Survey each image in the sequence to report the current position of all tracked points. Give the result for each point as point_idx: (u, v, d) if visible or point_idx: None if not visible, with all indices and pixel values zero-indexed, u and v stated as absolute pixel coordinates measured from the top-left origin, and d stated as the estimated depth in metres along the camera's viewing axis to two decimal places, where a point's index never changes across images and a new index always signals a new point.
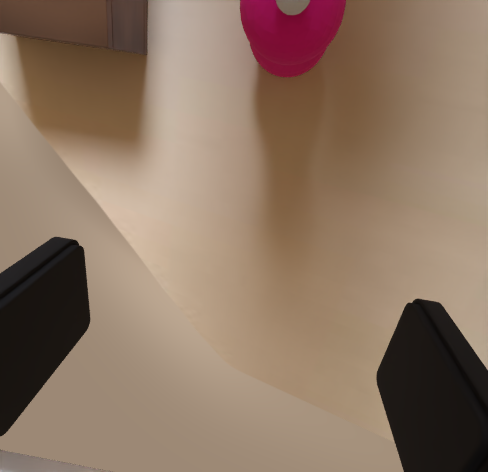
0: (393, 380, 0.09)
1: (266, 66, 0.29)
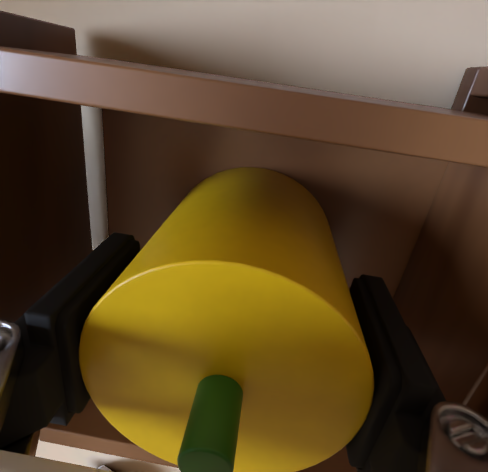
0: None
1: None
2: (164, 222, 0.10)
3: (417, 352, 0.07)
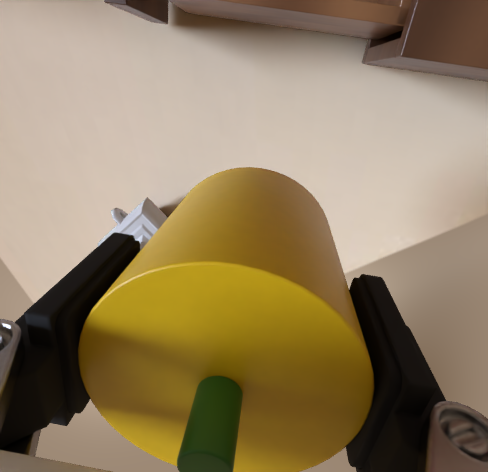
0: None
1: None
2: (164, 223, 0.10)
3: (417, 352, 0.07)
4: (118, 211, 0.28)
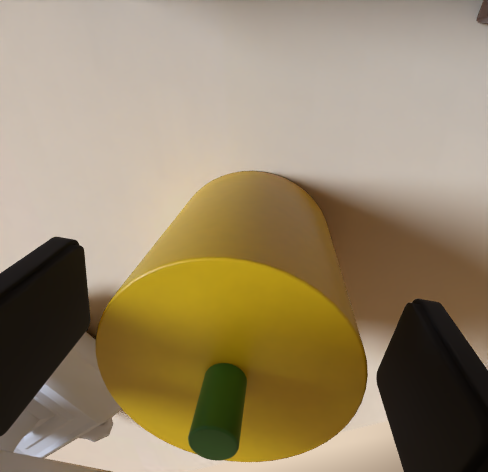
0: (393, 380, 0.09)
1: None
2: (172, 223, 0.10)
3: None
4: None
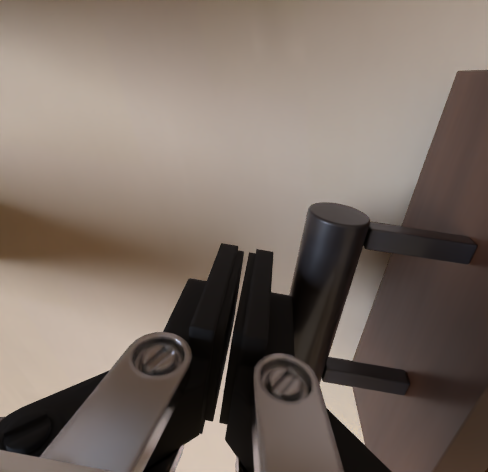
0: None
1: None
2: None
3: (267, 312, 0.07)
4: None
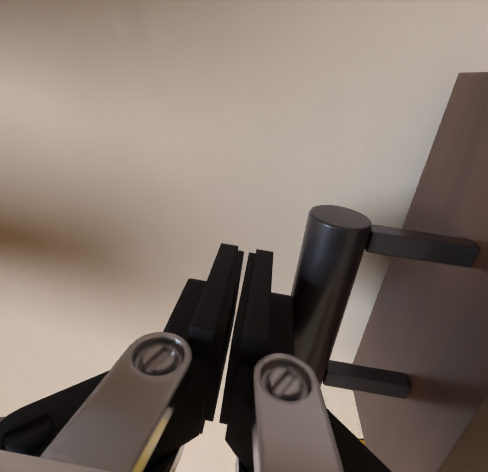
0: None
1: None
2: None
3: (267, 312, 0.07)
4: None
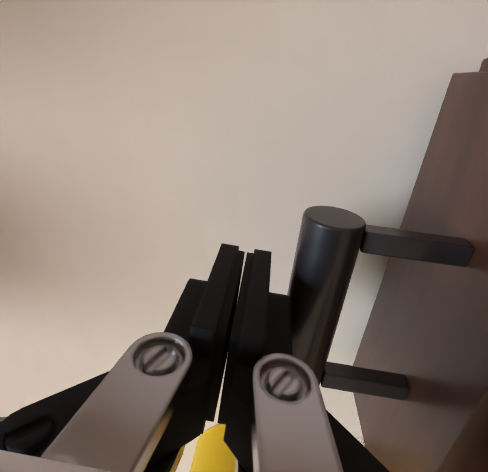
0: None
1: None
2: None
3: (265, 312, 0.07)
4: None
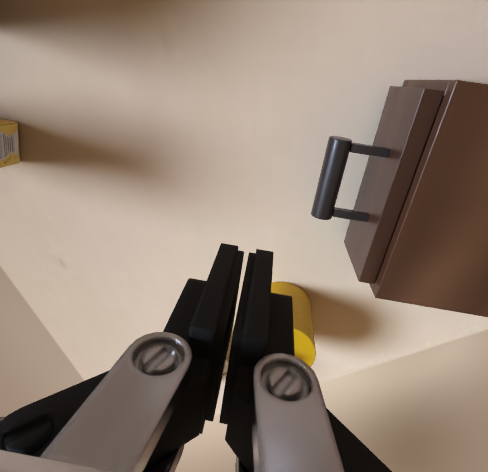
0: None
1: None
2: None
3: (267, 312, 0.07)
4: None
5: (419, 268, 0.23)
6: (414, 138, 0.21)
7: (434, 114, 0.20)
